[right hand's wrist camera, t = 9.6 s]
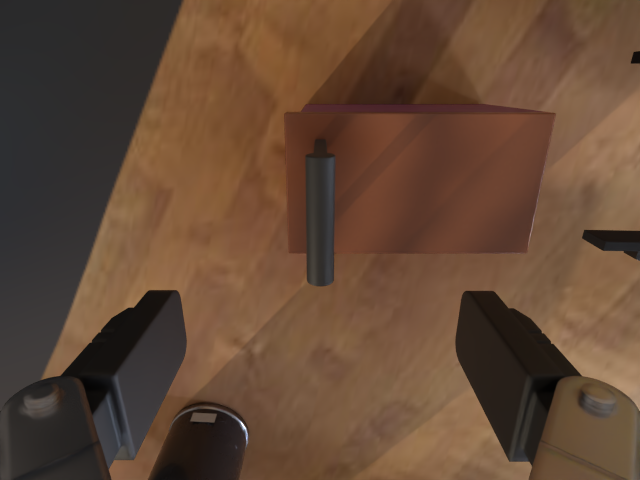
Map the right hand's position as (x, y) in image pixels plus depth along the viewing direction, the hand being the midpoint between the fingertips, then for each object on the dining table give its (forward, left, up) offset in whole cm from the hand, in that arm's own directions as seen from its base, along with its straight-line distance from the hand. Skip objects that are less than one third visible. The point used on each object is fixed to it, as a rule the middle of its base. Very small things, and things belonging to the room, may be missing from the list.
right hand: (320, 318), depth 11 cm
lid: (+1, -6, -17) cm, 18 cm away
